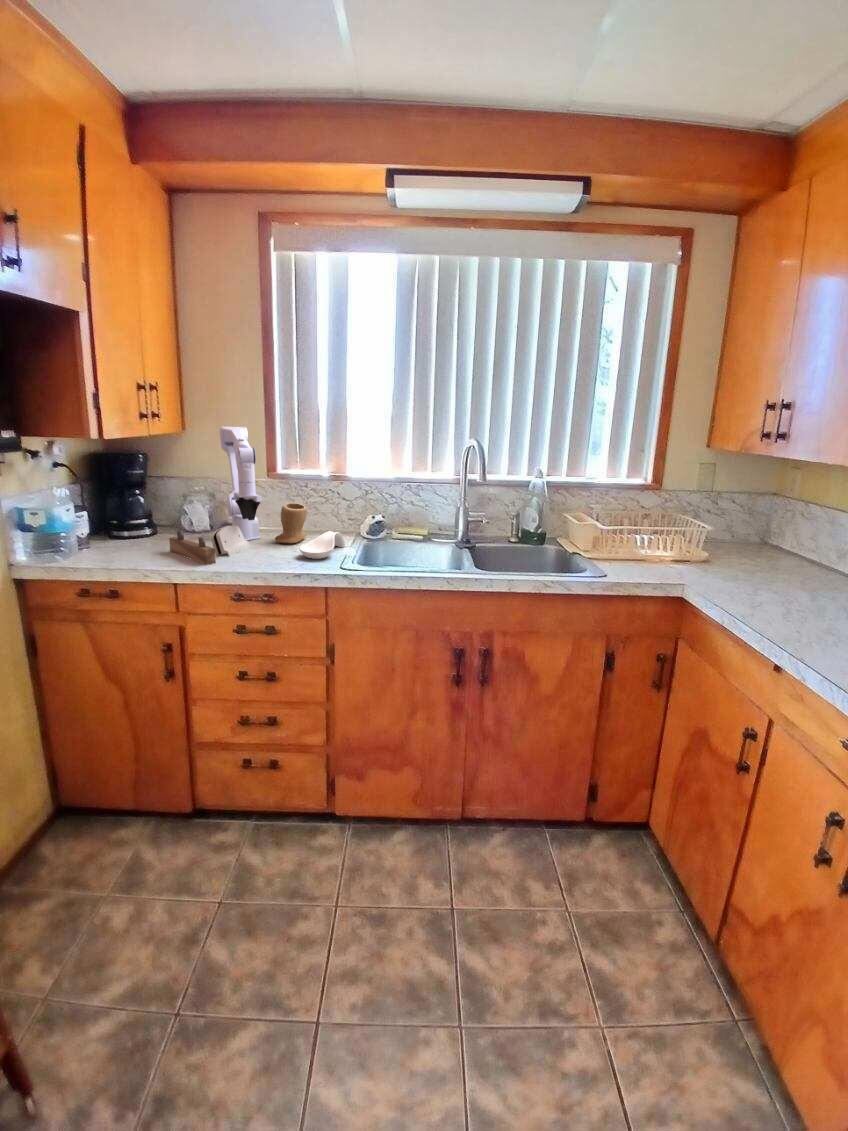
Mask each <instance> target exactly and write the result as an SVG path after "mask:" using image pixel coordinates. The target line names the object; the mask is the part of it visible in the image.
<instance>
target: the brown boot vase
mask: <svg viewBox="0 0 848 1131" xmlns="http://www.w3.org/2000/svg"><path fill="white" fill-rule="evenodd" d="M307 511H308V508H307V507H306V505H304V504H302V503H298V502H286V503H284V504H283V505H282V507H281V510H280V522H281V527H282V532H281V533H280V534H278V535H277V536H276V537H274V541H275V542H277V543H281V544H282V543H283V544H295V543H298V542H301V541H302V540H304V538H306V537H307V536H308V534H307V532H304V531H303V527H304V525H305V522H306V519H307V515H308V514H307V513H308V512H307Z"/></svg>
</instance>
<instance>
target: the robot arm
mask: <svg viewBox="0 0 848 1131" xmlns="http://www.w3.org/2000/svg"><path fill="white" fill-rule="evenodd" d="M219 439H220V440H219V441H220V447H221V449H222V451H224V452H225V453H226V454H227V456H228V460H229V461H228V462H229V470H230V477H231V483H232V492H231V493H230V494H228V496H227V497H226V498H227V499H226V502H227V503H226V506H227V507H226V508H227V514H228V515H229V517H231V522H232V525H234V526H238V527H239V528H240V530H241V532H242V534H243V537H244V539H245V540H246V541H251V540H252V541H253V540H256V539H261V536H260V524H259V519H258V517H257V516H256V513H257V511H258V508H259V506H260V505H261V502H263V496H262V495H259V494H257V492H256V475H255V472H256V470H255V465H256V462H257V453H256V449H255V447H251V445H250V443H249V441H248V440H249V434H248V428H247V427H246V426H223V425H222V426H221V427H219Z"/></svg>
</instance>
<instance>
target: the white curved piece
mask: <svg viewBox="0 0 848 1131" xmlns="http://www.w3.org/2000/svg"><path fill="white" fill-rule="evenodd" d="M210 541H211V544H212V548H215V556H216V555H218V556H220V555H225V554H227V556H230V557H232V556H234V555H236V554H237V552H238V553H240V552H242V551H245V550H246V549H248V548H250V547H251V544H250V542H249V540H245V539H244V537H243V534H242V532H241V530H240V528H239V527H238V526H234V525H225V526H222V527H220V528H218V529H217V530H215V531H214V532H213V533H212V534H211V535H210ZM249 546H250V547H249ZM239 551H240V552H239ZM235 553H236V554H235ZM233 554H234V555H233ZM231 555H232V556H231Z"/></svg>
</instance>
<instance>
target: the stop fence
mask: <svg viewBox="0 0 848 1131" xmlns="http://www.w3.org/2000/svg"><path fill="white" fill-rule="evenodd" d="M168 539H169V540H168V542H169V551H170V553H172V552H173V554H175V553H176V555H178V554H179V555H178V556H181V555H182V556H181V557H183V556H185V558H186V557H188V558H187V559H189V558H191V559H190V560H192V559H194V560H193V561H195V560H196V561H195V562H198V561H199V562H198V563H200V562H202V563H201V564H203V563H204V565H206V564H209V565H214V564H217V562H216V554H215V548H213V546H212V547H211V546H208V545H206V537H204V536H199V537H198V542H196V541H192V540H190V539H186V538H184V531H183V530H176V536H173V537H169V538H168ZM213 563H214V564H213Z"/></svg>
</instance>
